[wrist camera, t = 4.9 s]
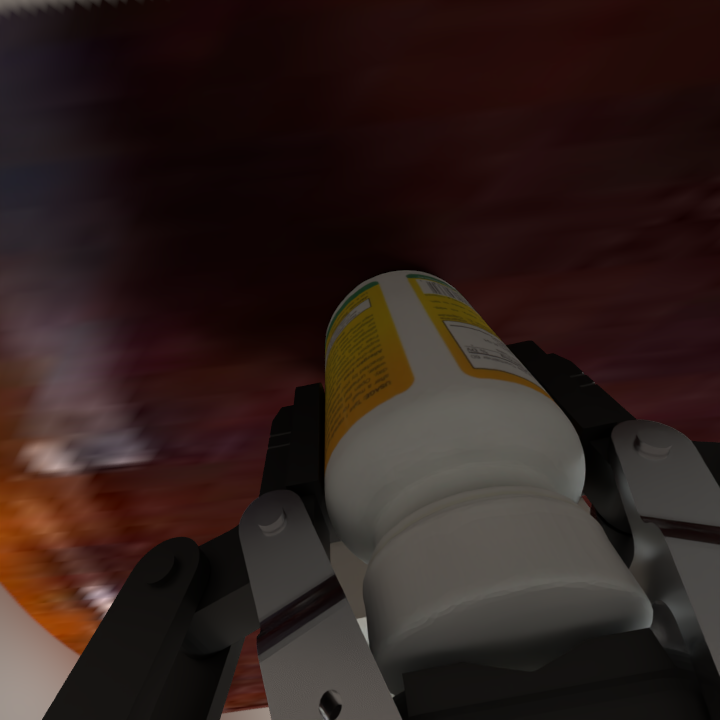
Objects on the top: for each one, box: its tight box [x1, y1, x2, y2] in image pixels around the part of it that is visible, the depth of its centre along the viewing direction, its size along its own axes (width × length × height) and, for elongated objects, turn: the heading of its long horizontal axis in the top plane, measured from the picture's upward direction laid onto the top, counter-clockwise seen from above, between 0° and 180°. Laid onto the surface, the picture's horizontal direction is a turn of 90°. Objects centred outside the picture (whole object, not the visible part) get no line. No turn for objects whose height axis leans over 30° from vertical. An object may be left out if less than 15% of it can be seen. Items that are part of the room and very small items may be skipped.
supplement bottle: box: [324, 270, 653, 696], centre depth 9 cm, size 5×5×10 cm
